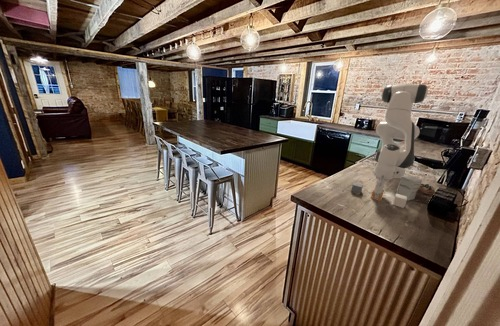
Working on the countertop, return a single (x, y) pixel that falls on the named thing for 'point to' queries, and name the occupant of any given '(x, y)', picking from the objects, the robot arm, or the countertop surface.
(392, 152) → the robot arm
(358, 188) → the charcoal cube
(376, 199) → the terracotta cube
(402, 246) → the countertop surface
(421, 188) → the cupcake
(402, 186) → the supplement box
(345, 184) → the countertop surface
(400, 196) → the offwhite cube
